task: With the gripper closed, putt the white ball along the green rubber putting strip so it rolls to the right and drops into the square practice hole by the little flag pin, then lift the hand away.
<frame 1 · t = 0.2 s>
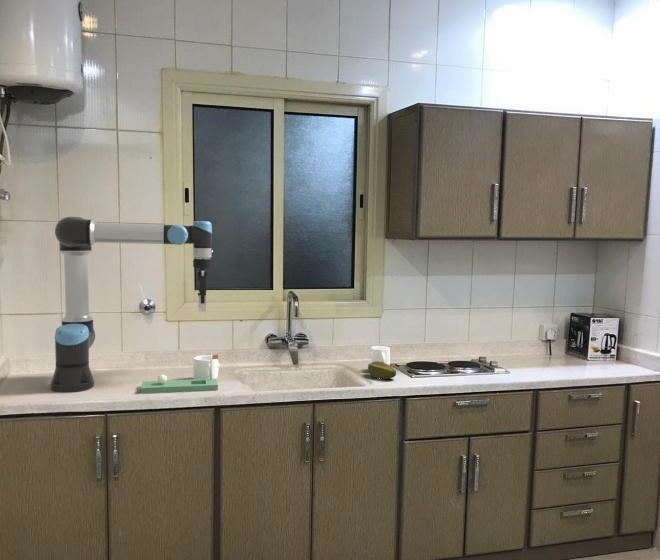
hand: (202, 309, 250), 28 cm above the countertop, fingers open, 13 cm apart
green: (179, 388, 229), on the countertop
mug 2: (207, 380, 242), on the countertop
mug: (380, 372, 264), on the countertop
fruit: (381, 378, 254), on the countertop
ball: (162, 379, 227), point 4 cm above the countertop, touching green
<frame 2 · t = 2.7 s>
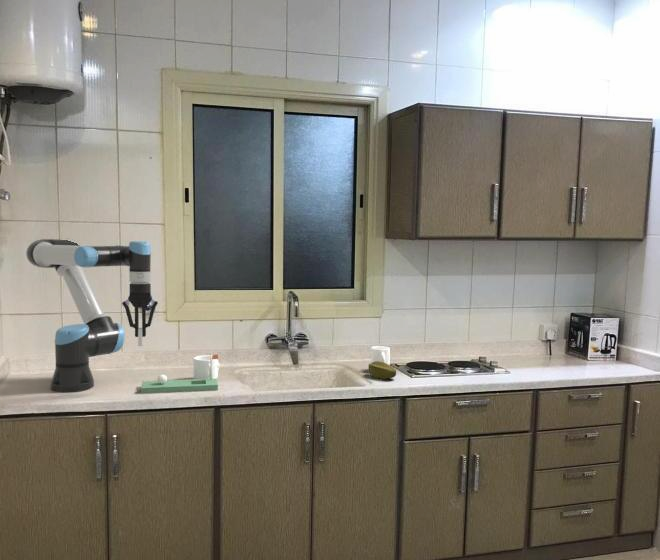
hand: (140, 345, 224), 17 cm above the countertop, fingers closed
nothing on the countertop moved.
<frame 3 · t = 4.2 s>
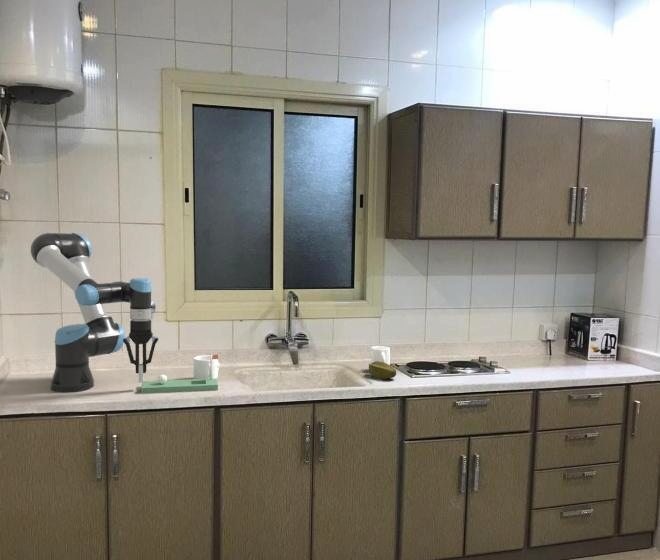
hand: (141, 381, 225), 3 cm above the countertop, fingers closed
nothing on the countertop moved.
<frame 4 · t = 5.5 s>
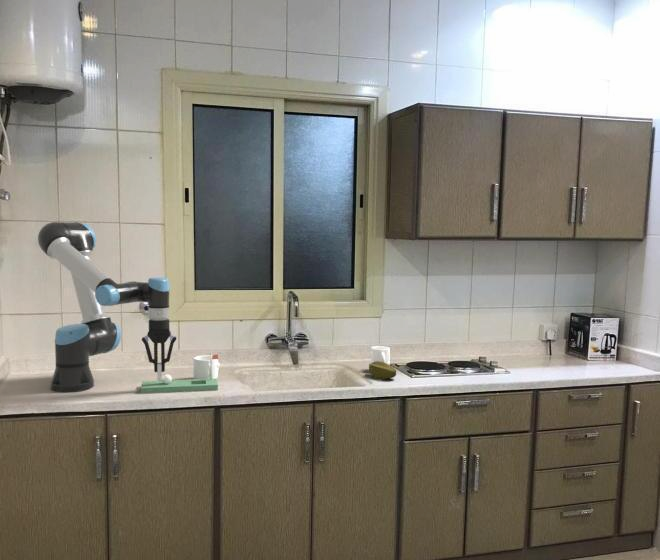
hand: (159, 380, 227), 4 cm above the countertop, fingers closed
ball: (167, 379, 228), point 4 cm above the countertop, tilted 53°, touching green
everything else where it was.
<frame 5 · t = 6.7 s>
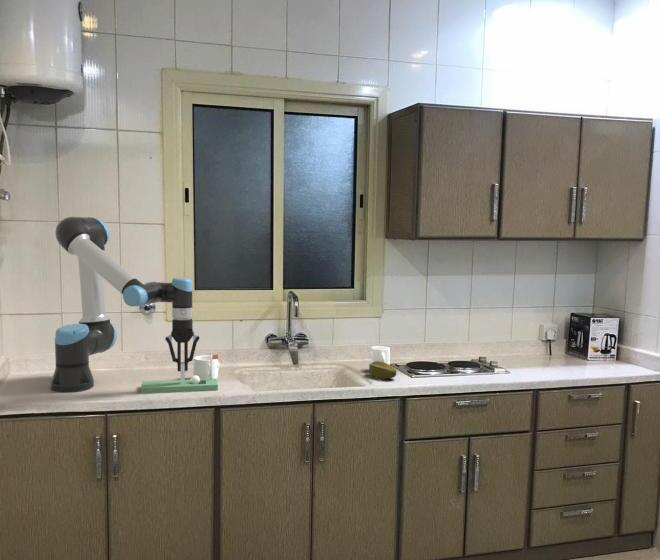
hand: (182, 379, 229), 3 cm above the countertop, fingers closed
ball: (195, 380, 230), point 3 cm above the countertop, tilted 34°
everything else where it was.
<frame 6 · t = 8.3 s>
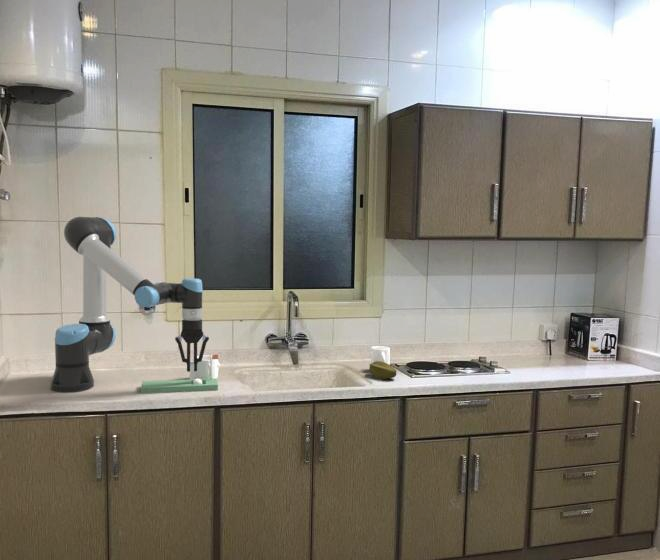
hand: (191, 379, 230), 3 cm above the countertop, fingers closed
ball: (197, 383, 230), point 2 cm above the countertop, tilted 80°, touching gripper
everything else where it was.
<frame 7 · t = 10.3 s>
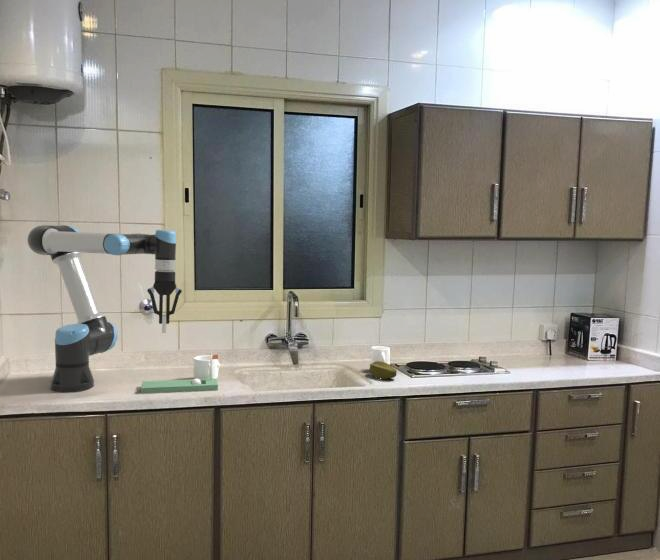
hand: (164, 332, 228), 21 cm above the countertop, fingers closed
ball: (196, 383, 230), point 2 cm above the countertop, tilted 64°
everything else where it was.
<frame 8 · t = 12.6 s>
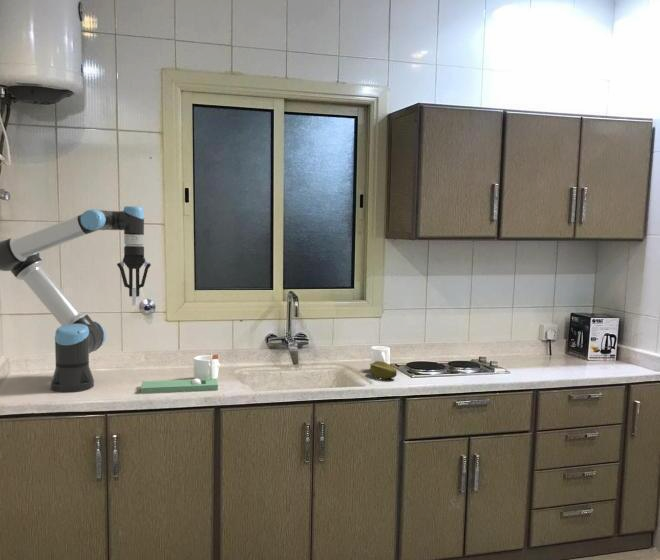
hand: (134, 304, 238), 30 cm above the countertop, fingers closed
nothing on the countertop moved.
at the end: ball 0.9 cm from the target spot on the green, point 1.8 cm above the green's base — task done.
